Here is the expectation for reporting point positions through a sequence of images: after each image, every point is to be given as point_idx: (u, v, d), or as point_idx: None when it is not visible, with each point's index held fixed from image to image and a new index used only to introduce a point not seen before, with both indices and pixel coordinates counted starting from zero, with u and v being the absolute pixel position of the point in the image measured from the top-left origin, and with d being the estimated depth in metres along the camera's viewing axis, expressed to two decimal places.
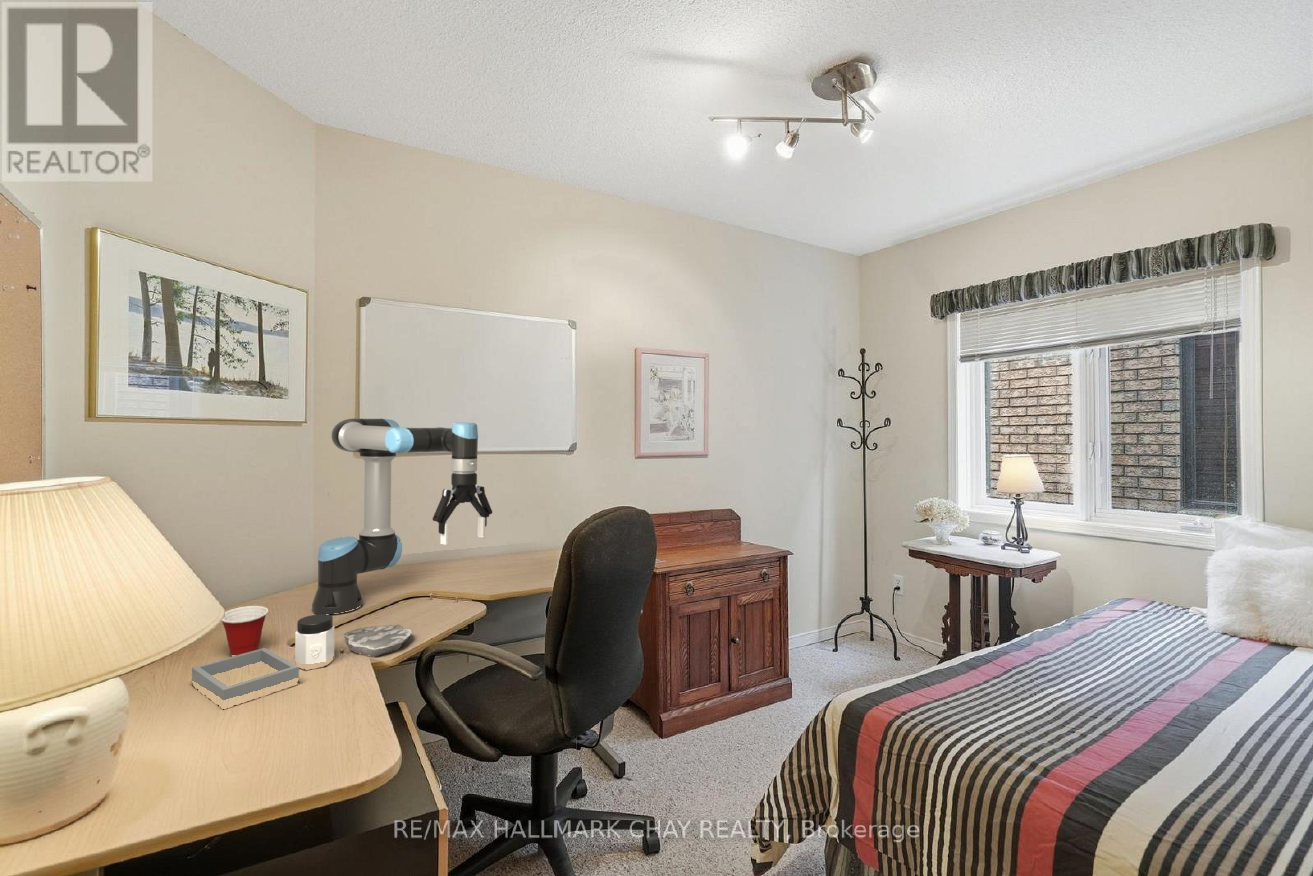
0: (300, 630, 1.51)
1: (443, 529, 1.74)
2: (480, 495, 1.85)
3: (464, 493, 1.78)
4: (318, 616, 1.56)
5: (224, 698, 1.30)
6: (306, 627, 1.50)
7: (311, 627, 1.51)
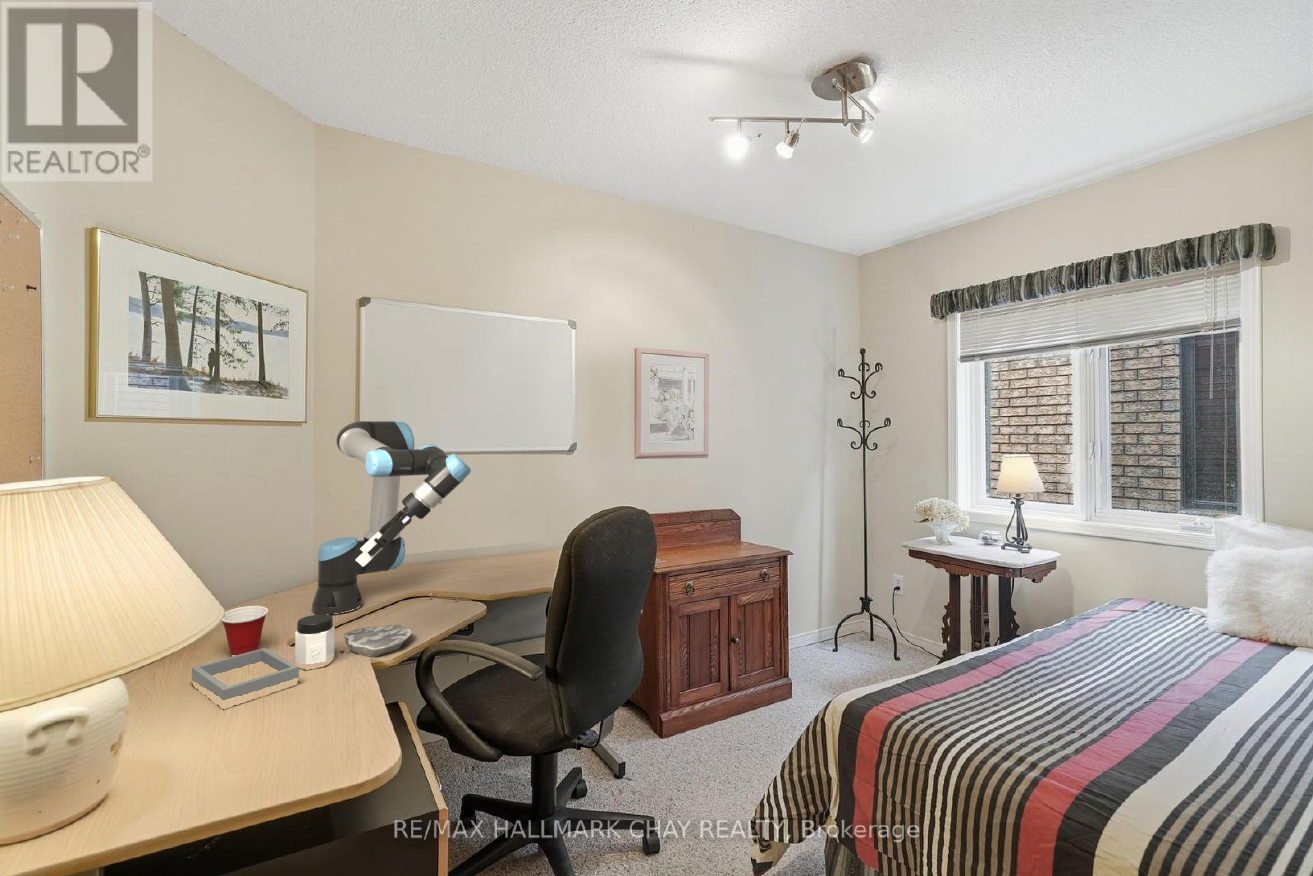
0: (300, 630, 1.51)
1: (375, 552, 1.52)
2: None
3: None
4: (318, 616, 1.56)
5: (224, 698, 1.30)
6: (306, 627, 1.50)
7: (311, 627, 1.51)
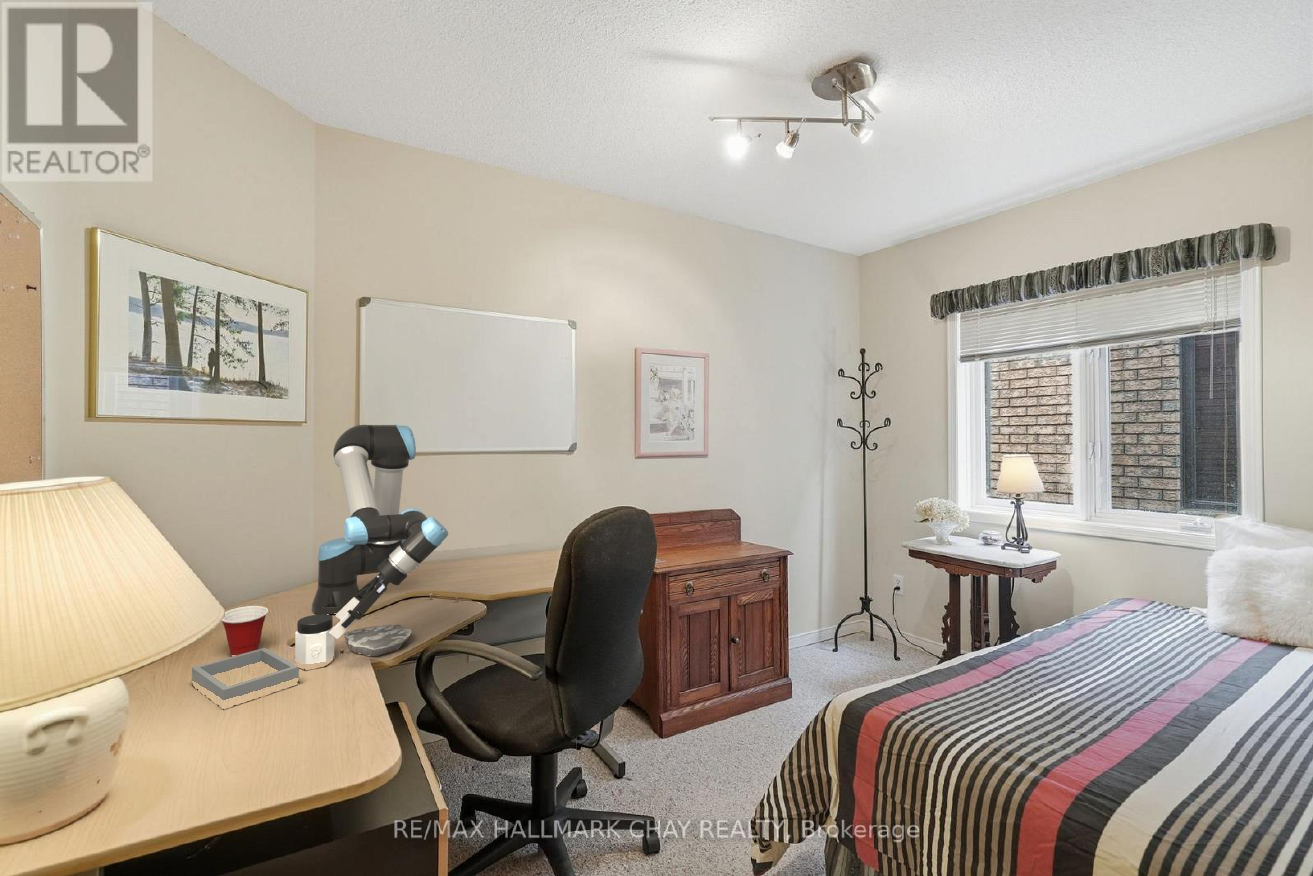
0: (300, 630, 1.51)
1: (349, 624, 1.50)
2: None
3: None
4: (318, 616, 1.56)
5: (224, 698, 1.30)
6: (306, 627, 1.50)
7: (311, 627, 1.51)
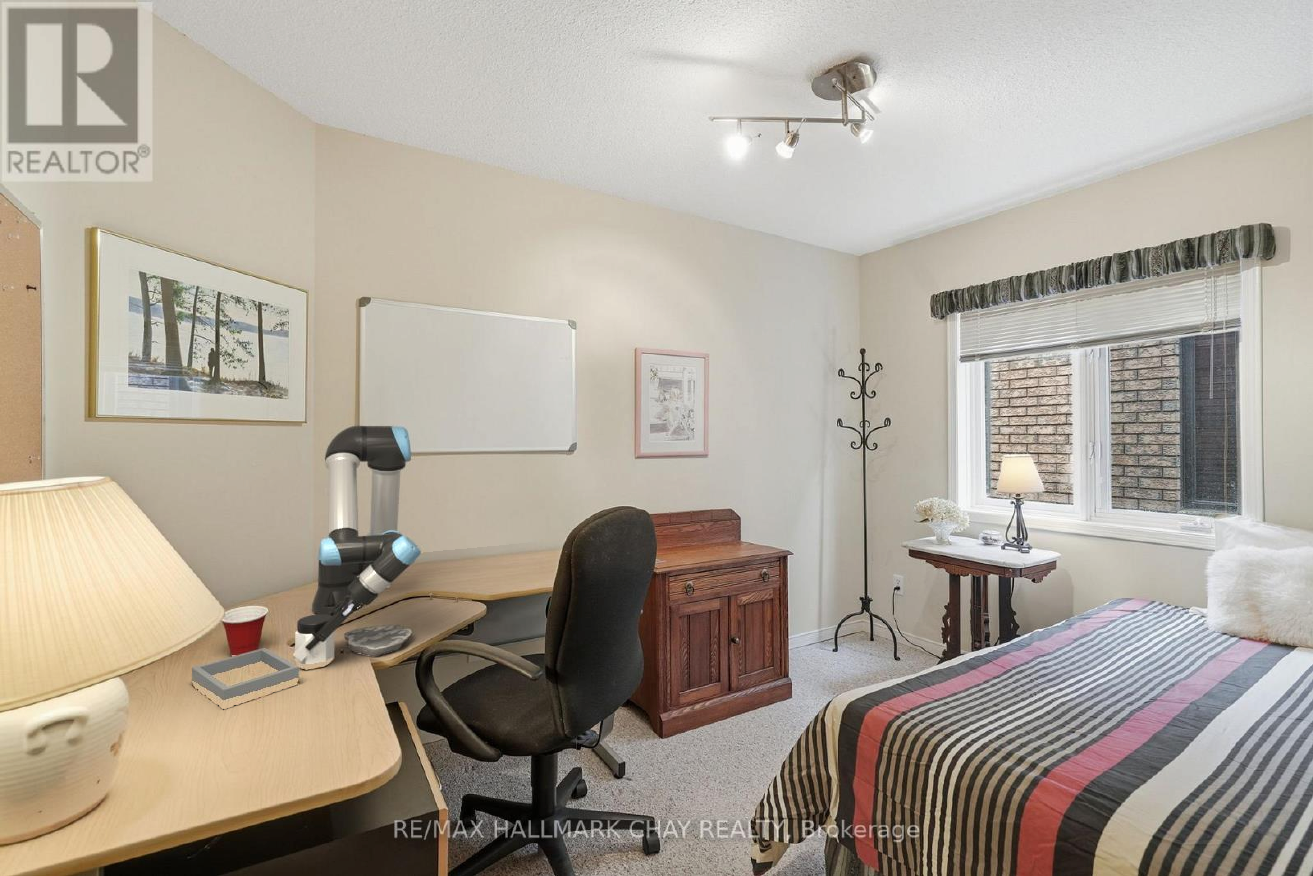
0: (300, 630, 1.51)
1: (313, 646, 1.50)
2: None
3: (355, 609, 1.57)
4: (318, 616, 1.56)
5: (224, 698, 1.30)
6: (306, 627, 1.50)
7: (311, 627, 1.51)
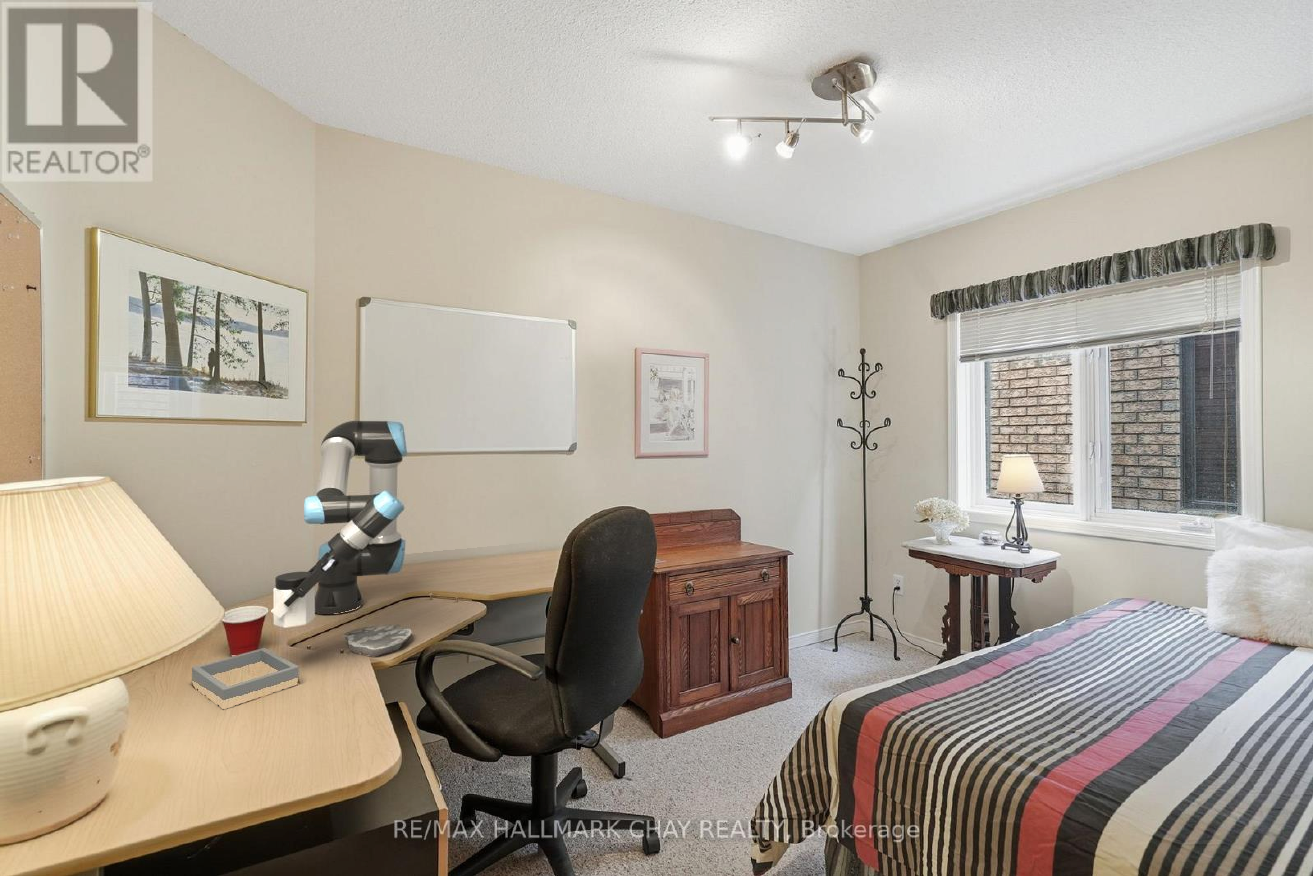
0: (278, 586, 1.45)
1: (292, 602, 1.44)
2: None
3: (336, 565, 1.51)
4: (297, 573, 1.51)
5: (224, 698, 1.30)
6: (284, 583, 1.45)
7: (290, 583, 1.45)
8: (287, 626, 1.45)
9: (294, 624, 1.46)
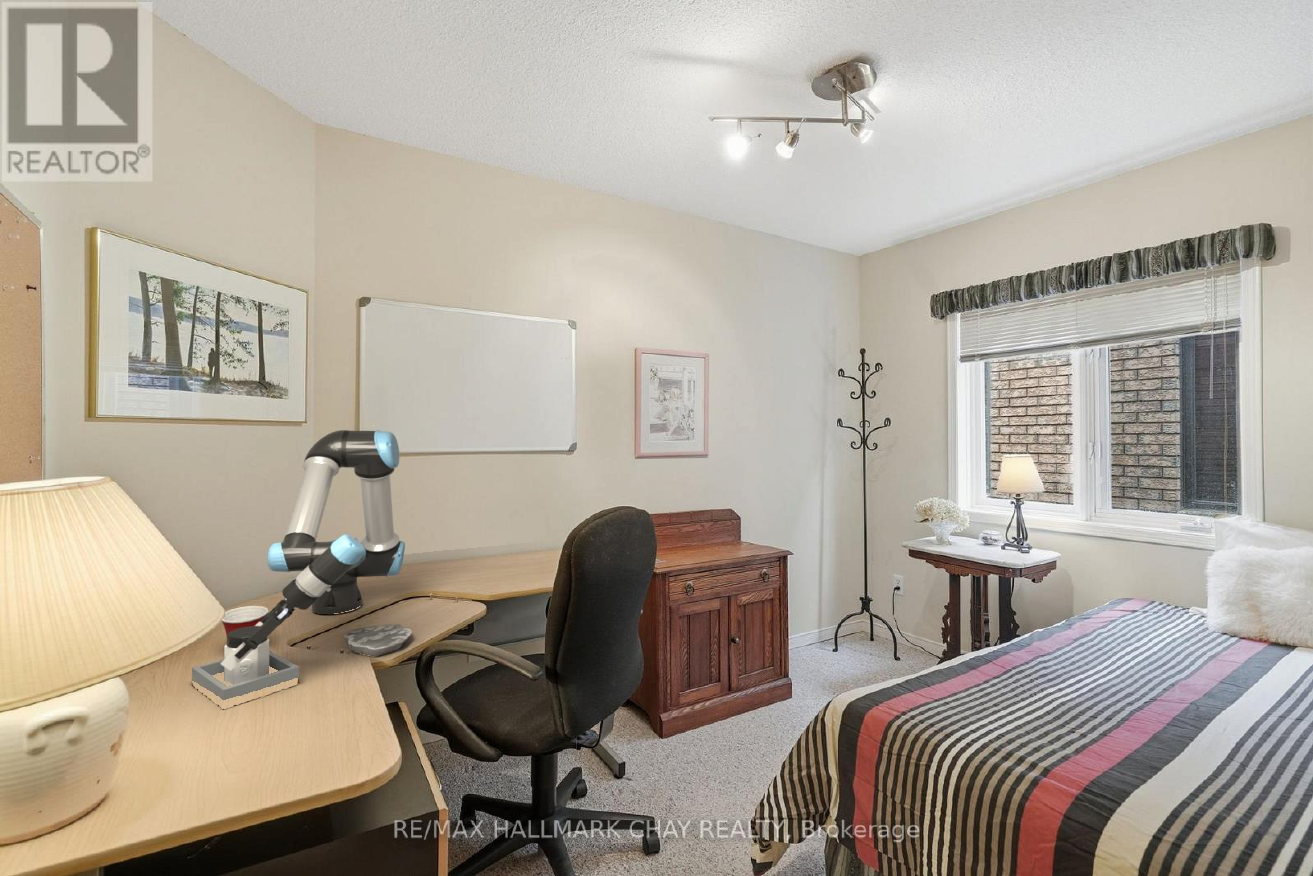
0: (229, 644, 1.38)
1: (244, 654, 1.35)
2: None
3: None
4: (251, 628, 1.44)
5: (224, 698, 1.30)
6: (235, 641, 1.38)
7: (240, 641, 1.38)
8: None
9: None
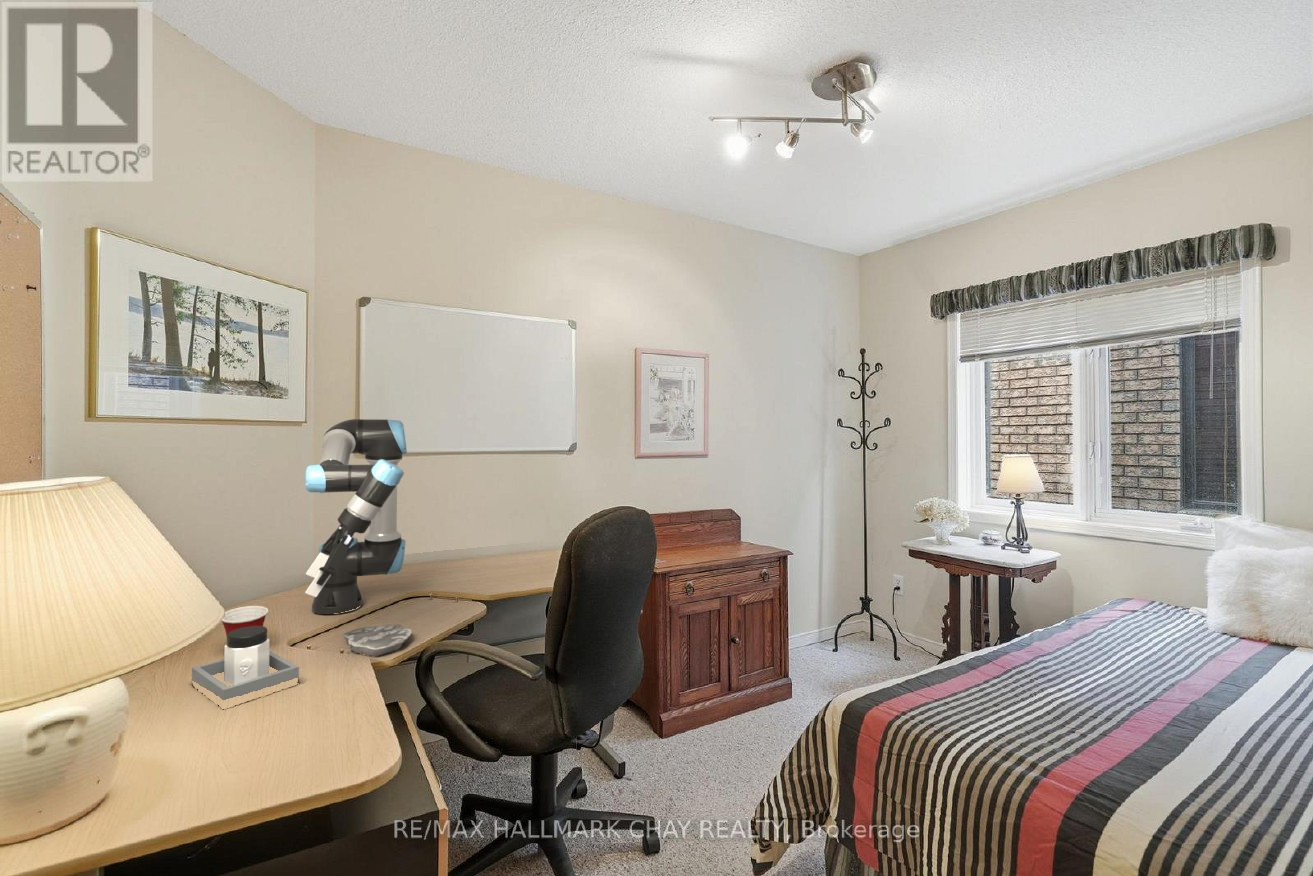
0: (229, 644, 1.38)
1: None
2: None
3: None
4: (252, 628, 1.44)
5: (224, 698, 1.30)
6: (235, 640, 1.38)
7: (240, 641, 1.38)
8: None
9: None
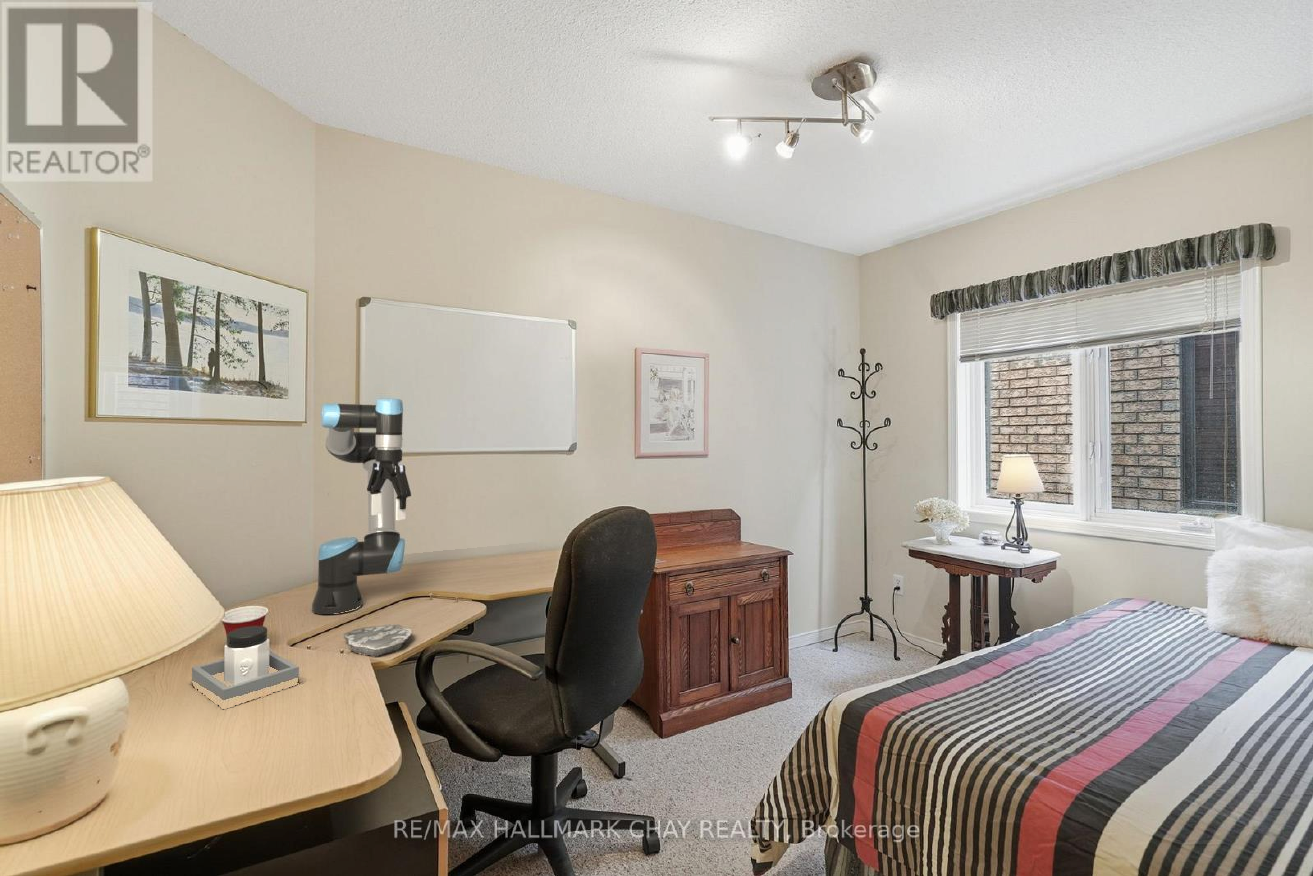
0: (229, 644, 1.38)
1: None
2: (378, 472, 1.84)
3: None
4: (252, 628, 1.44)
5: (224, 698, 1.30)
6: (235, 640, 1.38)
7: (240, 641, 1.38)
8: None
9: None
